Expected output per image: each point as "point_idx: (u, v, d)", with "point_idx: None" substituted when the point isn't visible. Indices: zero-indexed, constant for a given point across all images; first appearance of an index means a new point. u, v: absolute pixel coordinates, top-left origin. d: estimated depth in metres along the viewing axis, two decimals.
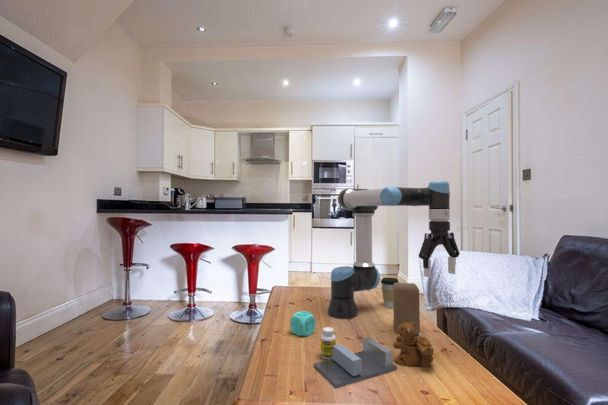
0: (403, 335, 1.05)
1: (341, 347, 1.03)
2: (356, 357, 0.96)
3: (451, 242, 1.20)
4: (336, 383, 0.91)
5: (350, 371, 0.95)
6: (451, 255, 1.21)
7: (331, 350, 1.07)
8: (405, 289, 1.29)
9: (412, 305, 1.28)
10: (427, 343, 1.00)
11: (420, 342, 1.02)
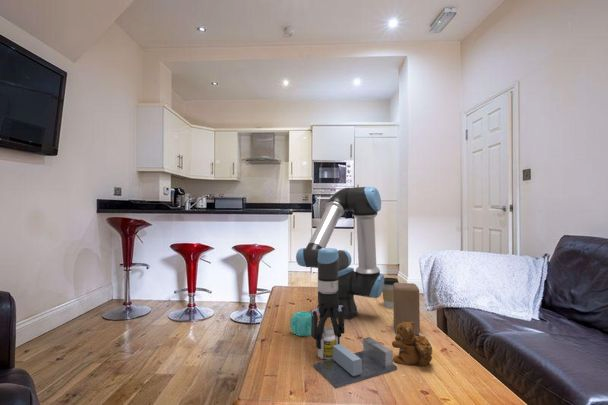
0: (402, 334, 1.06)
1: (341, 347, 1.03)
2: (356, 357, 0.96)
3: (339, 316, 1.12)
4: (336, 383, 0.91)
5: (350, 371, 0.95)
6: (335, 333, 1.11)
7: (331, 350, 1.07)
8: (405, 289, 1.29)
9: (412, 305, 1.28)
10: (426, 342, 1.01)
11: (419, 341, 1.02)
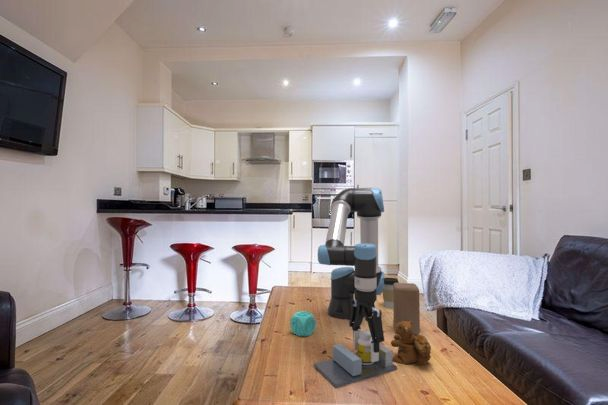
0: (401, 333, 1.06)
1: (341, 347, 1.03)
2: (356, 357, 0.96)
3: None
4: (336, 383, 0.91)
5: (350, 371, 0.95)
6: None
7: (359, 353, 1.03)
8: (405, 289, 1.29)
9: (412, 305, 1.28)
10: (424, 341, 1.01)
11: (417, 340, 1.03)
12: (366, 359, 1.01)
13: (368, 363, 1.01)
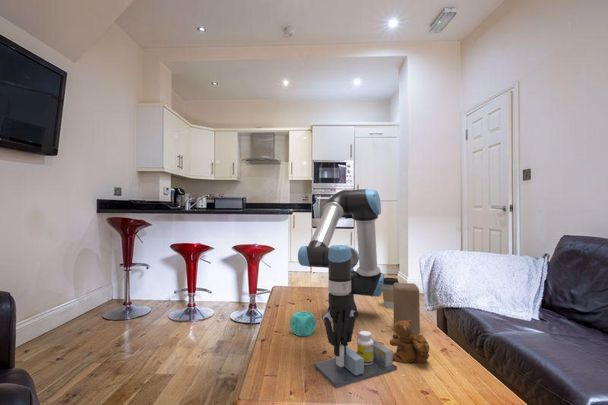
0: (399, 332, 1.07)
1: None
2: (358, 356, 0.97)
3: (349, 322, 1.01)
4: (336, 383, 0.91)
5: (353, 370, 0.95)
6: (341, 341, 1.00)
7: (358, 353, 1.02)
8: (405, 289, 1.29)
9: (412, 305, 1.28)
10: (423, 340, 1.02)
11: (416, 339, 1.04)
12: (366, 359, 1.01)
13: (368, 363, 1.01)
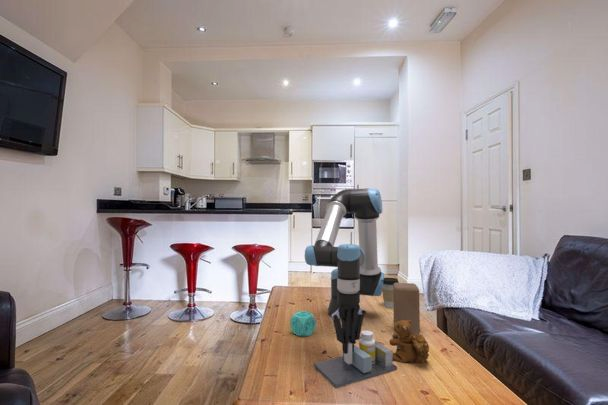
0: (399, 332, 1.07)
1: None
2: (366, 354, 0.98)
3: (358, 320, 1.02)
4: (336, 383, 0.91)
5: (361, 368, 0.97)
6: (349, 338, 1.01)
7: None
8: (405, 289, 1.29)
9: (412, 305, 1.28)
10: (422, 340, 1.02)
11: (416, 339, 1.04)
12: None
13: None
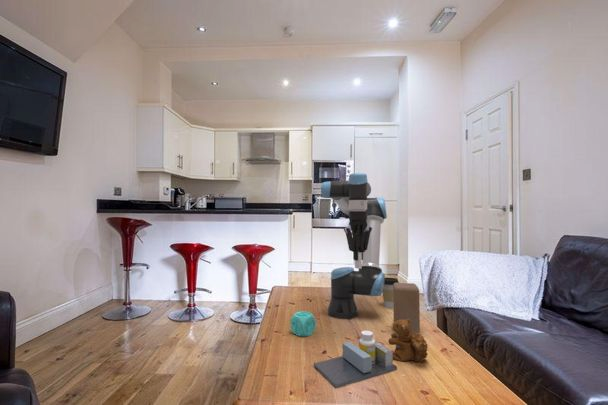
0: (398, 331, 1.08)
1: (351, 345, 1.05)
2: (366, 354, 0.98)
3: (365, 235, 1.25)
4: (336, 383, 0.91)
5: (361, 368, 0.97)
6: (359, 249, 1.24)
7: None
8: (405, 289, 1.29)
9: (412, 305, 1.28)
10: (421, 339, 1.03)
11: (414, 338, 1.05)
12: None
13: None
